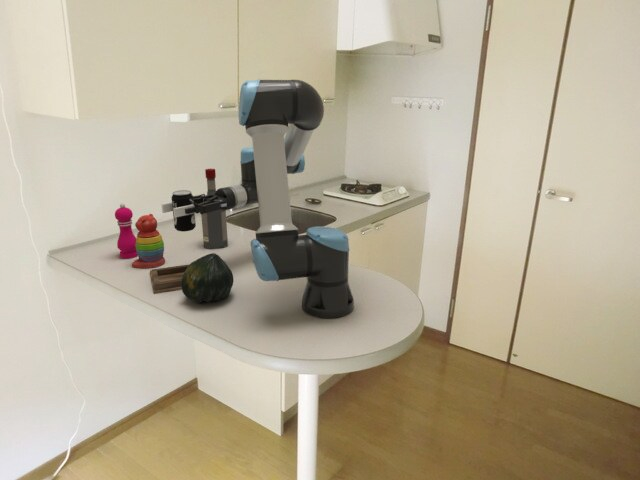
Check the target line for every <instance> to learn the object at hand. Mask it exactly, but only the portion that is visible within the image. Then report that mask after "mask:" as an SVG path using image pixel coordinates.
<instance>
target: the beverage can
mask: <svg viewBox="0 0 640 480" xmlns="http://www.w3.org/2000/svg"><path fill="white" fill-rule="evenodd" d="M193 196H194V195H193V194H192V191H191V190H188V189H181V190H180V189H179V190H174V191H172V195H171V202H172V208H178V207H183V206H188V205H194V200H193ZM172 216H173V218H172V219H173V227H174V229H175V230H176V231H178V232H190V231H193V230H194V229H195V228H196V213H195V212H194V214H189V215H185V216H180V217H176V218H175V217H174V210H173V211H172Z"/></svg>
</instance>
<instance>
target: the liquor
mask: <svg viewBox="0 0 640 480" xmlns="http://www.w3.org/2000/svg"><path fill="white" fill-rule="evenodd" d="M204 171H205V179H206V185H207V191H206V194H205V196H207V195H210V194H213V195H215V193H216V191H217V189H216V188H217V187H216V178H217V174H216V173H217V172H216V169H215V168H205V169H204ZM200 215H201V226H202V237H203V239H202V241H203V247H204V248H205V249H207V250H208V249H209V250H215V249H223V248H225V247H226V248H227V246H228V245H229V243H228V242H229V241H228V239H229V238H228V227H227V226H228V225H227V224H228V222H227V210H221V209H220V210H216V211H212V212H209V213H205V214H200Z"/></svg>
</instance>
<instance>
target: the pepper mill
mask: <svg viewBox="0 0 640 480" xmlns="http://www.w3.org/2000/svg"><path fill="white" fill-rule="evenodd" d="M133 215H134V214H133V211H132V210H131V208H129V207H126V204H125V203H123V202H122V203H120V204H119V208H117V209H116V210H115V211H114V218H115V219H116V220H117V221H116V222H117V226H118V227H119V236H118V239H117V242H116V243H117V244H116V247H117V249H118V250H119V256H120V258H121V259H125V260H126V259H127V260H128V259H134V258H136V257H138V254H137V251H136V239H137V236H135V234H134V233H133V230H132V229H133V228H132V225H133V220H132V218H133Z"/></svg>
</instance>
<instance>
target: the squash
mask: <svg viewBox="0 0 640 480" xmlns="http://www.w3.org/2000/svg"><path fill="white" fill-rule="evenodd" d="M189 264H190V265H189ZM189 264H188V265H189V266H188V267H187V269H186V271H185V272H184V275H183V277H182V293H183V295H184V297H186V298H187V299H188V300H191V301H193V302H194V303H202V302H206V303H210V302H212V301H218V300H219V301H221V300H224V299H226V298H228V297H229V295H230V294H231V291H232V288H233V286H234V275H233V272H232V270H231V267H229V265H228V264H227V263H226V261H225V260H223V258H222V257H221V256H220V255H219V254H217V253H215V252H213V253H208V254H206V255H203V256H202V257H199V258H198V259H196V260H193V261H192V262H190V263H189Z"/></svg>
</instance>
